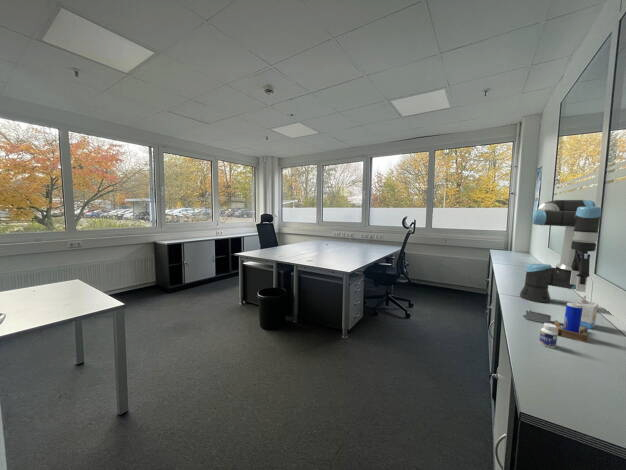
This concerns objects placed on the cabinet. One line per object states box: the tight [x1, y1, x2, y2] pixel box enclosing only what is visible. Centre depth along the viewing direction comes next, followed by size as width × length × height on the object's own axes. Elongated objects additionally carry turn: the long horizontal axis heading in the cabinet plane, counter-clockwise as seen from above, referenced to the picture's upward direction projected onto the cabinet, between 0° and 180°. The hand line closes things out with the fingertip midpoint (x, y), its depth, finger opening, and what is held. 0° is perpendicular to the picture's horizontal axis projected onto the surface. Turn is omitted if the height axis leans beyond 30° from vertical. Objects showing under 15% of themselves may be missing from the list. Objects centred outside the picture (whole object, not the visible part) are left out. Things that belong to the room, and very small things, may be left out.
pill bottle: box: [538, 323, 559, 349], centre depth 108 cm, size 5×5×9 cm
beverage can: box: [562, 301, 583, 333], centre depth 118 cm, size 5×5×15 cm
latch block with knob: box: [524, 308, 552, 324], centre depth 132 cm, size 2×10×5 cm, turn 52°
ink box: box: [580, 294, 599, 330], centre depth 129 cm, size 8×5×15 cm, turn 124°
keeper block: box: [522, 314, 589, 343], centre depth 124 cm, size 17×23×3 cm
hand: (577, 287), depth 116 cm, fingers open, 13 cm apart
